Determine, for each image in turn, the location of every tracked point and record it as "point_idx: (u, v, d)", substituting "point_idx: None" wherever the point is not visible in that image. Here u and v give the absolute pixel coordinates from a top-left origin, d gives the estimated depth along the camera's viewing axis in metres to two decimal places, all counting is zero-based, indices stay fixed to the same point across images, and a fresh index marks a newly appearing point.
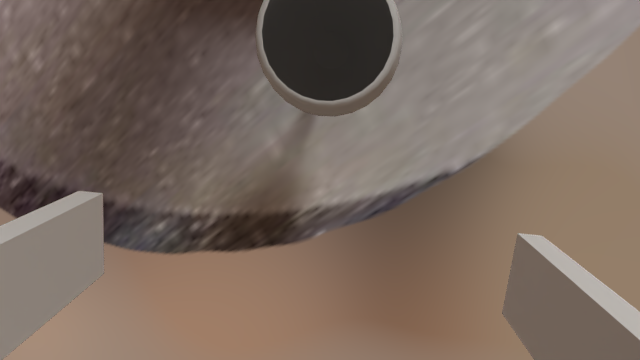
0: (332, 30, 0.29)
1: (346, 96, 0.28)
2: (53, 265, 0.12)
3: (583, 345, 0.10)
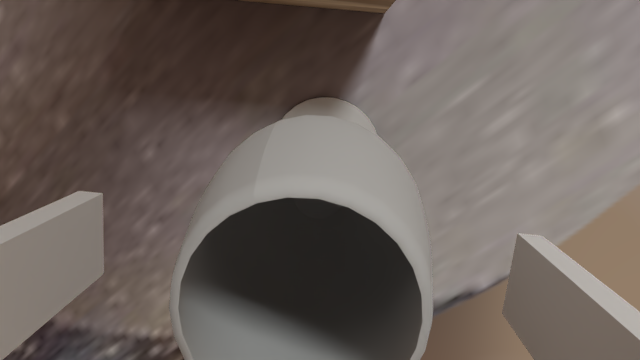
0: None
1: (340, 268, 0.19)
2: (53, 265, 0.12)
3: (583, 345, 0.10)
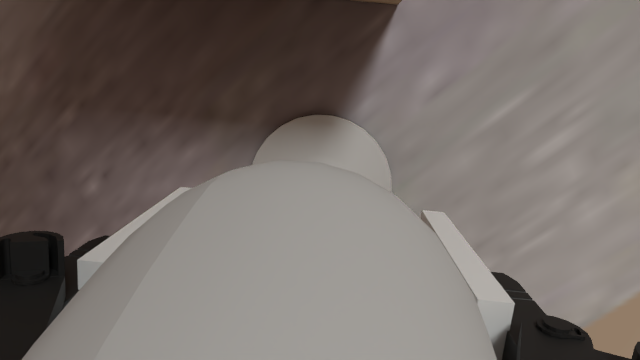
0: None
1: None
2: None
3: None
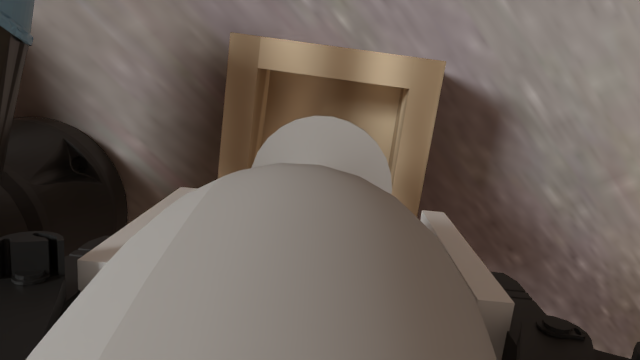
0: None
1: None
2: None
3: None
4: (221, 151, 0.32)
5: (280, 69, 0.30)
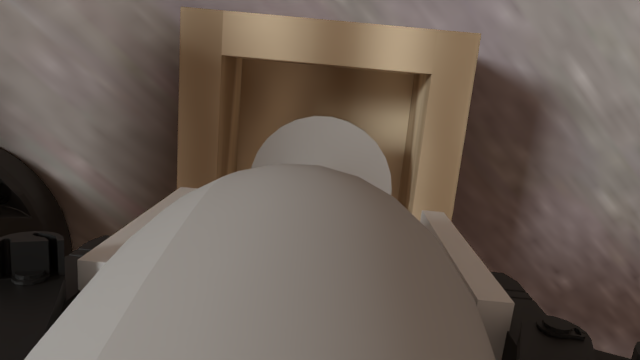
0: None
1: None
2: None
3: None
4: (179, 171, 0.23)
5: (253, 55, 0.22)
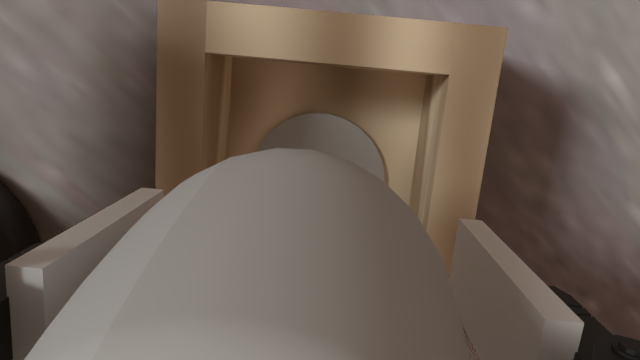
0: None
1: None
2: None
3: (497, 314, 0.11)
4: (157, 186, 0.20)
5: (241, 52, 0.19)
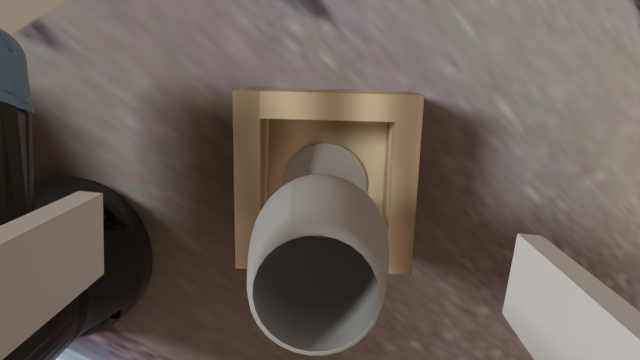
0: None
1: (339, 271, 0.29)
2: (53, 265, 0.12)
3: (583, 345, 0.10)
4: (235, 194, 0.36)
5: (279, 117, 0.34)
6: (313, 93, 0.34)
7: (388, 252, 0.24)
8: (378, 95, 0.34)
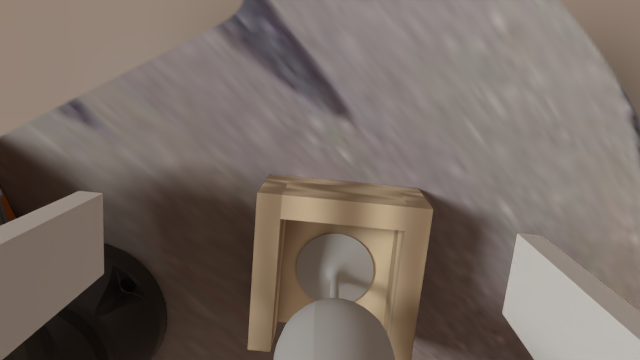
0: None
1: None
2: (53, 265, 0.12)
3: (583, 345, 0.10)
4: (252, 283, 0.38)
5: (299, 219, 0.37)
6: (331, 200, 0.37)
7: None
8: (391, 206, 0.37)
